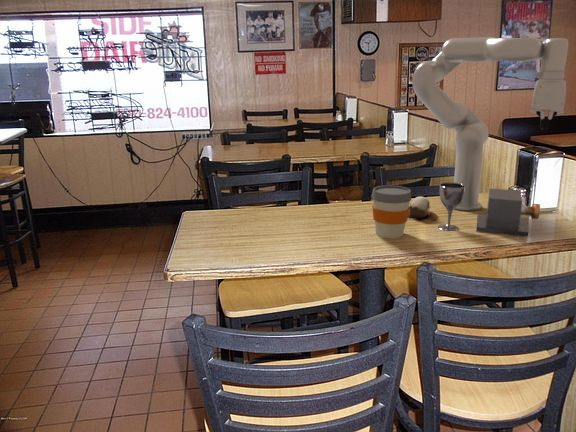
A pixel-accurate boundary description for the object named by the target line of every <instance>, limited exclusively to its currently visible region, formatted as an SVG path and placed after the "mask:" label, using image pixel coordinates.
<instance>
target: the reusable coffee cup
mask: <svg viewBox="0 0 576 432" xmlns="http://www.w3.org/2000/svg"><path fill="white" fill-rule="evenodd" d="M371 199H372V207H371V209H372V218H373V220H374V227H375V229H374V230H375V235H376V236H378V237H381V238H384V239H400V238H402V237H403V236H404V231H405V227H406V223H407V222H408V219H409V217H408V214H409V211H410V210H409V209H410V203H411V200H412V191H411V189H410V188H408V187H405V186H402V185H389V184H388V185H387V184H386V185H377V186H375V187H373V189H372V193H371Z"/></svg>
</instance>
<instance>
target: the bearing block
mask: <svg viewBox="0 0 576 432" xmlns="http://www.w3.org/2000/svg"><path fill="white" fill-rule="evenodd" d="M487 199H488V200H487V207H486V208H487V209H486V214H481V213H480V214H479V213H478V214H477V215H476V216H477V217H476V228H475V229H476V230H475V232H478V233H479V232H480V233H490V234H498V235H507V236H519V237H528V238H529V232H530V231H529V228H528V224H527V223H528V222H527V219H526V218H525V217H521V208H522V206H523V198H522V192H521V190H517V189H515V190H513V189H503V188H502V189H501V188H489V190H488V198H487ZM487 210H488V212H487Z"/></svg>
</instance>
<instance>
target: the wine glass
mask: <svg viewBox="0 0 576 432" xmlns="http://www.w3.org/2000/svg"><path fill="white" fill-rule="evenodd" d="M464 189H465V185H463V184H460V183H454V181H453V182H451V181H450V182H448V181H447V182H441V183H440V184H439V199H440V202H441V204H442V205H443V206H444V207H445V209H446V211H447V224H446V223H445V224H440V225H438V226H437V228H438V229H439V230H441V231H446V232H456V231H460V227H459V226H458V225H453V224H451V219H452V214H453V211H454V210H456V209H455V208H456V207H457V206H458V205H459V204H460V203H461V201H462V199H463V195H464Z"/></svg>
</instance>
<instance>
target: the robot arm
mask: <svg viewBox="0 0 576 432" xmlns="http://www.w3.org/2000/svg"><path fill="white" fill-rule="evenodd" d="M568 50H569V40H568V38H564V37H562V38H561V37H554V38H553V37H552V38H546V39H545V38H536V37H507V38H506V37H504V38H503V37H501V38H498V37H491V36H489V37H488V36H487V37H453V38H450V39H448V40H446V41H445V42H444V43H443V45H442V47H441V51H440V53H438V55H436V56H435V57H434V58H432V59H431V60H426V61H422V62H421V63H419V64H418V65H417V67H416V68H415V70H414V72H413V74H412V84H411V85H412V88H413V91H414V92H413V93H414V94H415V96H416V97H417V98H418V99H419V101H420V102H421V103H422V104H423V105H424V107H425V108H427V109H428V112H430V113H431V114H432V115H433V116H434V117H435V118H436V120H437V121H438V122H439V123H440V124H441V125H442V126H443V127H444V128H446V129H449V130H451V129H454V130H455V132H457V136H456V140H455V163H454V164H455V165H454V174H453V175H454V176H453V183H460V184H463V185H465V189H464V195H463V199H462V201H461V203H460V204H459V205H458V206H457V207H456V208H455V209H454V210H457V211H467V212H469V211H479V210H481V209H482V207H483V204H482V203H480V201H479V196H480V186H481V179H482V178H481V176H482V168H483V167H482V166H483V156H484V155H483V151H484V150H483V148H484V144H485V143H486V142H487V141H488V138H489V133H490V132H489V129H488V127H487V125H486V124H485V123H484V122H483V121H482V120H481V119H480V117H478V116H477V115H476V113H474V112H473V111H472V109H470V107H469V106H467V105H466V104H464V103H463V102H461V101H454V100H453V99H452V98H451V97H450V96H449V95H448V94H447V92H445V91H444V90H443V89H442V88H441V87H439V85H438V83H439V82H441V81H442V80H444V79H445V78H446V77H447V76H448V75H450V73H452V72H453V71H454V70H455V69H457V68H458V66H460V65H461V64H462V63H494V62H530V61H538V60H539V61H540V60H541V61H540V69H539V72H534V77H535V78H536V77H537V78H538V80H536V81H535V85H534V87H533V94H532V98H531V106H530V107H531V108H530V109H529V113H531V114H534V115H537V116H538V117H539V118H540V121H539V122H540V124H539V129H541V131H542V132H544V131H545V132H547V131H548V129H550V126H551V125H550V124H551V120H552V119H553V118H555V116H558V115H559V116H560V115H562V114H565V110H564V108H565V105H566V96H567V81H566V80H564V78H565V70H566V64H567V63H566V62H567V56H568ZM545 111H546V112H547V111H548V114H547V116H546V117H545Z"/></svg>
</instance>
